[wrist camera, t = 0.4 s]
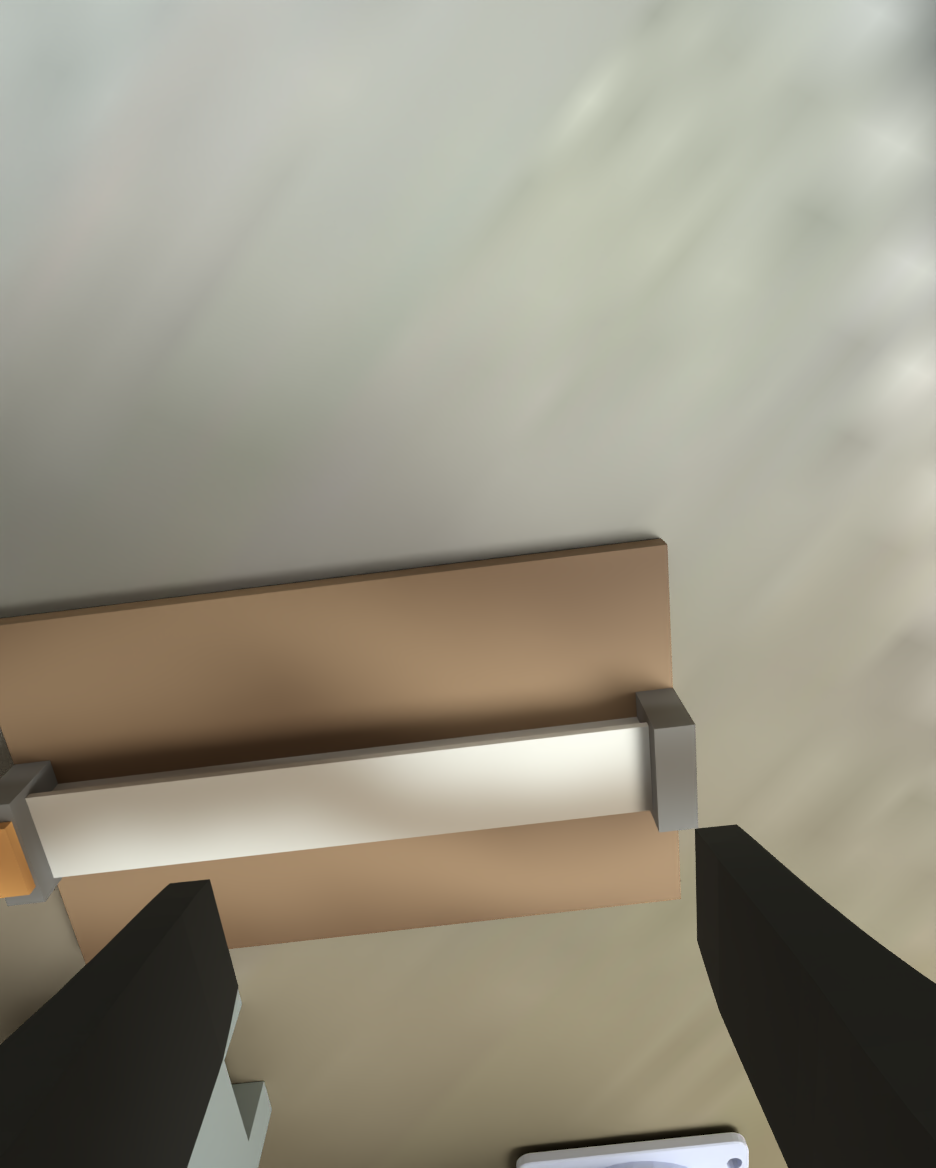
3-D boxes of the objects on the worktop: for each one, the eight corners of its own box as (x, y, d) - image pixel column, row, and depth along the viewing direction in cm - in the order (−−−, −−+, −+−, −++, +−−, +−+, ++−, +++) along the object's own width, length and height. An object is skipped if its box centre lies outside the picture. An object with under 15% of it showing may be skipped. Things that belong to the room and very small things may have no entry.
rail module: (271, 1109, 26) (219, 1334, 20) (156, 1121, 26) (70, 1349, 20) (232, 972, 24) (163, 1177, 18) (108, 985, 24) (-2, 1194, 18)
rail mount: (675, 885, 23) (705, 960, 20) (94, 949, 23) (47, 1031, 21) (661, 538, 20) (694, 572, 17) (-21, 620, 20) (-97, 667, 17)
